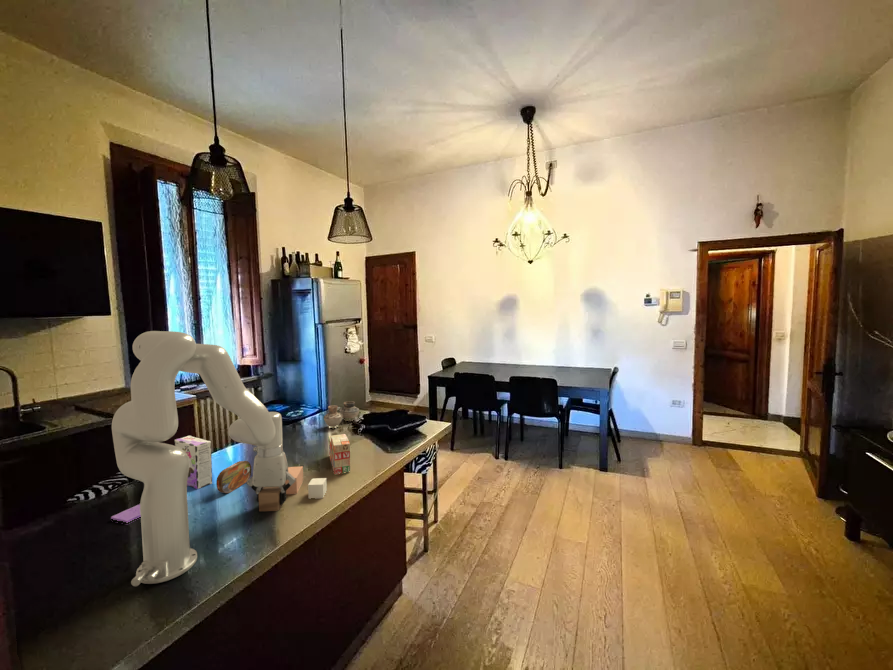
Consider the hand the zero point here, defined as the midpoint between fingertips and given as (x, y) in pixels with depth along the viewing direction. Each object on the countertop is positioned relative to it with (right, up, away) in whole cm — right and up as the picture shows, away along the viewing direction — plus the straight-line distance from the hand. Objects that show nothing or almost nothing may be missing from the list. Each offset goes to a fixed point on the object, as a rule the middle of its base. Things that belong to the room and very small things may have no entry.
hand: (272, 502), depth 128 cm
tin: (-20, 0, +14) cm, 24 cm away
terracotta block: (-1, 0, +13) cm, 13 cm away
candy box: (-37, 0, +18) cm, 41 cm away
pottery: (-1, +5, +91) cm, 91 cm away
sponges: (-41, -2, -4) cm, 41 cm away
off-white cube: (+12, -1, +8) cm, 15 cm away
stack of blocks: (+12, +1, +35) cm, 37 cm away
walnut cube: (0, -1, 0) cm, 1 cm away
